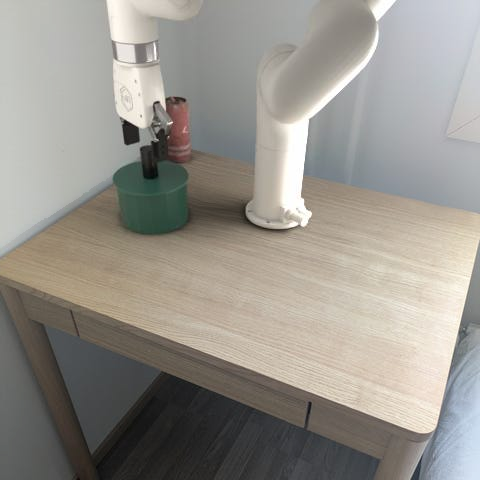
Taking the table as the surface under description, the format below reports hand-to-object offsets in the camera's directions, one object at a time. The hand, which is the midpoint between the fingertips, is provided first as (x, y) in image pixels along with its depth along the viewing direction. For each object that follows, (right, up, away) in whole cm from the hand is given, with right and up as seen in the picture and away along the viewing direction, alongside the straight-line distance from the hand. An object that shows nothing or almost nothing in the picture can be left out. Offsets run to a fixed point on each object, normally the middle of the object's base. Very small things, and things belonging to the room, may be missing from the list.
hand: (146, 151), depth 92 cm
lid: (0, -4, +4) cm, 5 cm away
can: (+2, +9, +30) cm, 32 cm away
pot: (0, -10, +9) cm, 14 cm away
